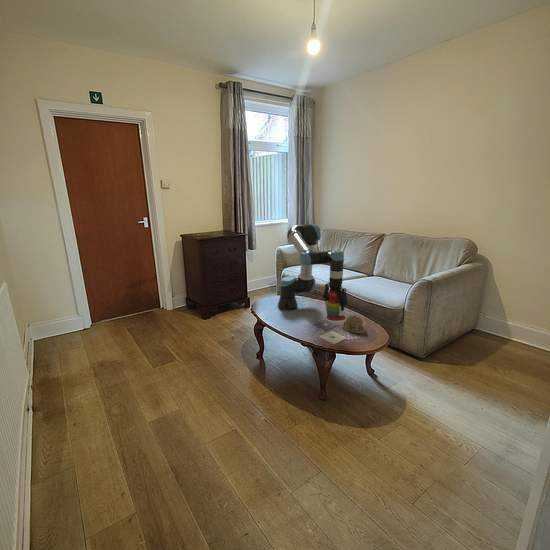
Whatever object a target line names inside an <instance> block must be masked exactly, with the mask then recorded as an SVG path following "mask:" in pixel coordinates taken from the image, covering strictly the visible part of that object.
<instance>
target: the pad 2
mask: <svg viewBox="0 0 550 550" xmlns="http://www.w3.org/2000/svg"><path fill="white" fill-rule="evenodd" d="M318 338H319V339H321V340H324V341H326V342H328V343H330V344H332V345H336V344H338V343H340V342H342V341H344V340H346V339H347V338H348V337H346V336H344V335H342V334H339V333H337V332H335V331H334V330H333V331H332V330H330V331H329V332H326V333H324V334H322V335H319V337H318Z"/></svg>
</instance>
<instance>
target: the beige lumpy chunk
mask: <svg viewBox="0 0 550 550" xmlns="http://www.w3.org/2000/svg"><path fill="white" fill-rule="evenodd" d="M363 323H364V321H363V319H362V318H361V317H360V316H357V315H356V314H354V315H348V316H347V317H346V318H345V321H344V322H343V323H342V330H344V331H348V332H351V333H355V334H364V333H365V329H364V326H363Z"/></svg>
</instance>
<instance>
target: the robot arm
mask: <svg viewBox="0 0 550 550" xmlns="http://www.w3.org/2000/svg"><path fill="white" fill-rule="evenodd" d="M321 235H322V234H321V228H320V227H319V225H318V224H313V223H310V224H295V225H293V226H292V227H290V228H289V229H288V231H287V234H286V236H287V240H288V242H289V243H290V245H291V244H292V245H293V247H294V248H295V250H296V251H297V253H298V254H299V263H300V271H299V272H300V273H299V274H298V275H297V277H295V276H293V275H291V276H290V275H289V276H284V277H282V278H281V279H280V281H279V300H278V302H277V308H278V309H279V310H282V311H293V310H296V309H297V308H298V302H297V299H296V294H309V293H312V292H314V290H315V289H316V278H315V277H314V275H313V265H327V264H328V265H329V282H328V283H325V285H324V286H325V288H324V291H323V292H324V293H323V296H322V299H324V301H325V303H324V304H325V307H326V306H327V302H328V300H329V299H330V297H329V293H330V292H331V291H335V292H336V294H337V295H338V298H339V301H340V304H341V305H340V306H339V316H341V315H344V311H345V306H347V305H348V297H347V288H346V287H345V288H344V287H343V285H342V284H343V277H344V275H343V274H344V261H345V257H344V256H345V253H344V251H342V250H341V249H335V250H330V249H325V250H323V251H315V246H316V245H317V244H318V242H319V241H320V240H321V237H322V236H321ZM338 292H339V293H338ZM325 311H326V312H327V310H326V309H325Z"/></svg>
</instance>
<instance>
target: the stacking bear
mask: <svg viewBox="0 0 550 550" xmlns="http://www.w3.org/2000/svg"><path fill="white" fill-rule="evenodd" d="M328 293H329V292H328ZM338 293H339V292H338ZM329 297H330V299H329V300H328V302H327V306H326V305H325V311H326V310H327V311H326V314H327V315H326V320H328V321H330V322H332V321H333V322H339V321H344V320H346V319H347V317H346V316H345V315H344V314H343V315H341V316H339V306H340V305H341V304H340V301H339V298H338V295H337V294H336V292H335V291H331V292H330V293H329Z"/></svg>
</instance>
